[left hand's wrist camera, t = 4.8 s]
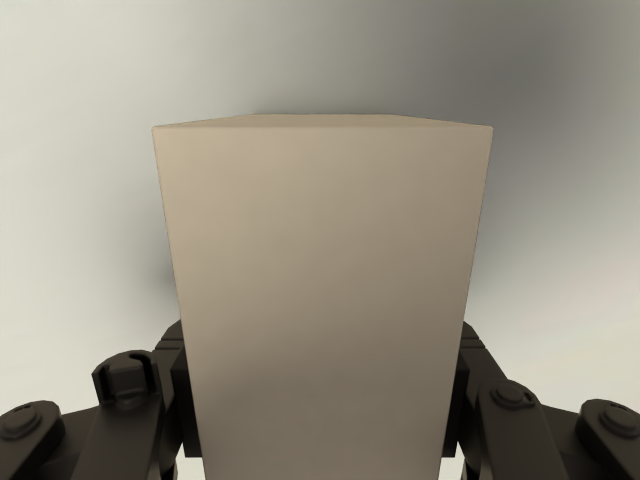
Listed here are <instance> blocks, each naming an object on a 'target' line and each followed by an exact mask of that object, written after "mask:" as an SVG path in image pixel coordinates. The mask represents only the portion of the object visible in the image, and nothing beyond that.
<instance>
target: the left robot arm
mask: <svg viewBox="0 0 640 480" xmlns="http://www.w3.org/2000/svg"><path fill="white" fill-rule="evenodd" d="M92 378H93V382H94V385H95V389H96V393H97V397H98V400H99V406H96V407H93V408H89V409H85V410H81V411H76V412H72V413H68V414H64V415H61V412H60V409H59V406H58V405H56V404H55V403H54V402H52V401H45V400H42V401H35V402H30V403H27V404H24V405H21V406H18V407H16V408H14V409H12V410H10V411H8V412H7V413H5V414H3V415H1V416H0V480H177V475H178V471H177V464H176V456H177V454H178V451H179V449H180V446H181V444H182V442H183V448H184V453H185V457H202V453H201V446H200V440H199V433H198V427H197V420H196V414H195V408H194V401H193V395H192V388H191V382H190V375H189V369H188V362H187V356H186V349H185V343H184V336H183V330H182V323H181V319H180V320H179V321H177V322H176V323H175V324H173V325H172V326H170V327H169V328H168V329H167V331H166V332H165V334H164V335H163V337H162V338H161V341H159V342H158V344H157V345H156V347H155V350H153V351H152V353H151V352H149V351H145V350H130V351H127V352H123V353H119V354H117V355H114V356H112V357H110V358H108V359H106V360H105V361H104V362H102V363H101V364H99V365H98V366H97V367H96V369H95V370H94V371H93V373H92ZM457 442H459V445H460V447H461V449H462V452H463V454H464V457H465V459H464V464H463V469H462V475H461V480H640V414H639V413H637V412H635V411H633V410H631V409H629V408H628V407H626V406H624V405H621V404H618V403H615V402H612V401H609V400H602V399H592V400H587V401H586V402H585V403H583V404H582V406H581V409H580V412H579V413H574V412H570V411H566V410H562V409H557V408H553V407H549V406H546V405H543V404H541V403H540V402H539V400H538V398H537V397H536V395H535V394H534V393H532V392H531V391H530V390H529V389H528V388H526V387H525V386H523V385H521V384H519V383H517V382H515V381H512V380H509V379H507V377H506V376H505V374H504V373H503V372H502V370H501V369H500V367H499V366H498V364H497V363H496V361H495V360H494V358H493V357H492V356H491V354H490V353H489V351H488V350H487V349H485V345H484V344H483V342H482V341H481V340H479V337H478V335H477V334H476V332H475V331H474V329H473V328H472V327H471V326H470V325H469V324H467V323H466V322H464V321H463V326H462V333H461V339H460V345H459V351H458V358H457V364H456V370H455V376H454V383H453V389H452V395H451V401H450V408H449V414H448V420H447V427H446V433H445V439H444V445H443V452H442V457H455V453H456V448H457Z"/></svg>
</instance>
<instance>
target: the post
mask: <svg viewBox="0 0 640 480" xmlns="http://www.w3.org/2000/svg"><path fill="white" fill-rule="evenodd" d="M493 132H494V129H493V127H491V126H484V125H476V124H468V123H459V122H451V121H443V120H434V119H426V118H417V117H409V116H401V115H392V114H250V115H242V116H234V117H226V118H217V119H209V120H201V121H193V122H185V123H177V124H169V125H161V126H154V127H152V136H153V142H154V148H155V155H156V161H157V168H158V174H159V181H160V187H161V194H162V200H163V207H164V213H165V220H166V226H167V233H168V239H169V246H170V252H171V259H172V265H173V272H174V278H175V284H176V291H177V297H178V304H179V310H180V317H181V323H182V330H183V336H184V343H185V349H186V356H187V362H188V369H189V375H190V382H191V388H192V395H193V401H194V408H195V414H196V420H197V427H198V433H199V440H200V446H201V453H202V459H203V466H204V472H205V479H206V480H438V477H439V470H440V464H441V458H442V452H443V445H444V439H445V433H446V427H447V420H448V414H449V408H450V401H451V395H452V389H453V383H454V376H455V370H456V364H457V358H458V351H459V345H460V339H461V333H462V326H463V320H464V314H465V307H466V301H467V295H468V289H469V282H470V276H471V270H472V264H473V257H474V251H475V245H476V238H477V232H478V226H479V220H480V213H481V207H482V201H483V195H484V188H485V182H486V176H487V170H488V163H489V157H490V151H491V144H492V138H493Z"/></svg>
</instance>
